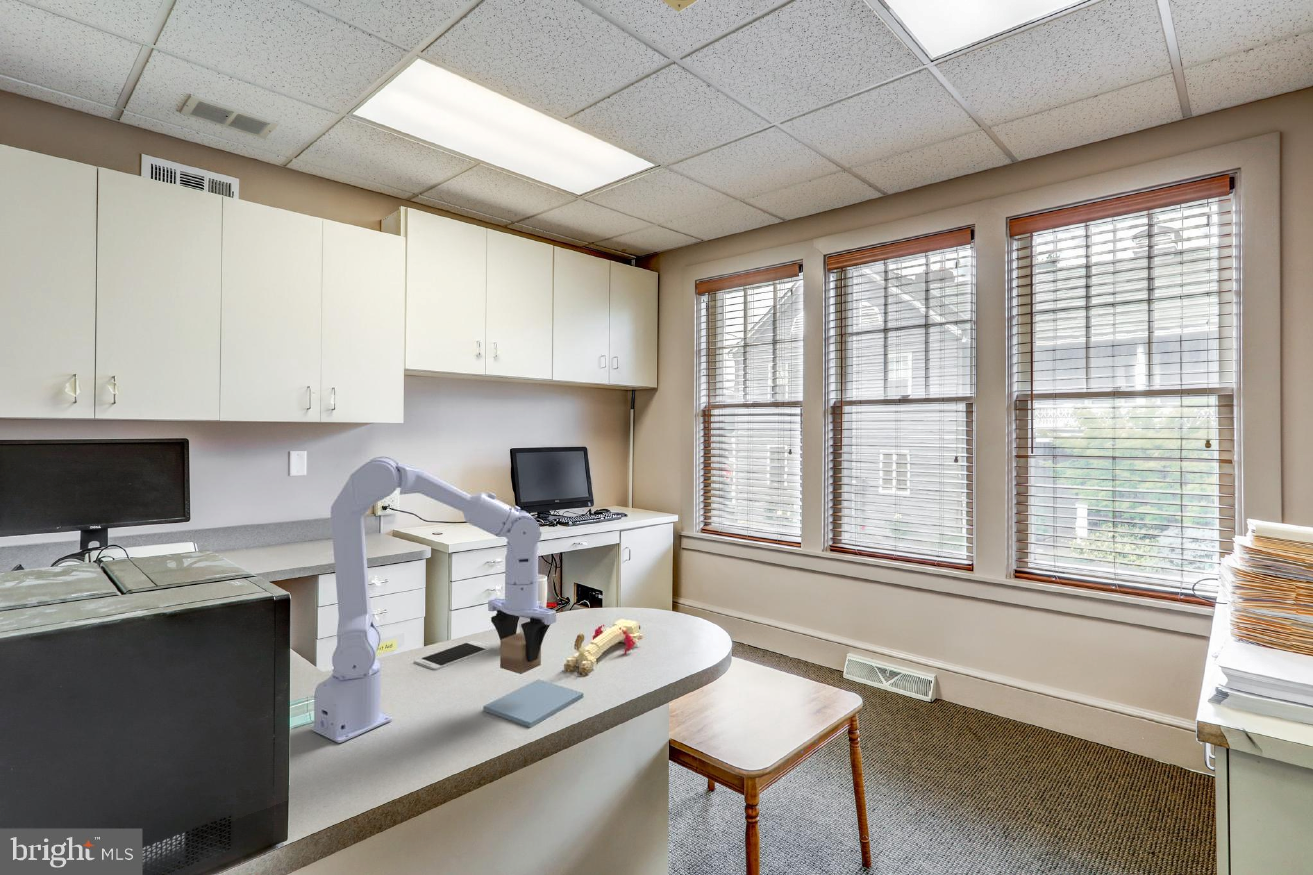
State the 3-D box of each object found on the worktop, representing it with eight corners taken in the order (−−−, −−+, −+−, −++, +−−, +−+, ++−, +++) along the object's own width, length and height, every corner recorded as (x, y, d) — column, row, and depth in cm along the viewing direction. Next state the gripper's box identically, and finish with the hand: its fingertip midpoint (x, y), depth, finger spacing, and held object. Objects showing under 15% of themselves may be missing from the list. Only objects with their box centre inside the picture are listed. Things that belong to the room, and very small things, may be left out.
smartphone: (494, 650, 141) (494, 646, 141) (435, 672, 128) (435, 667, 128) (472, 643, 145) (472, 639, 145) (413, 664, 132) (413, 660, 132)
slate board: (530, 727, 105) (530, 722, 105) (483, 710, 111) (483, 706, 111) (583, 697, 117) (583, 692, 117) (538, 683, 123) (538, 679, 123)
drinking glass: (513, 639, 147) (514, 575, 146) (542, 636, 150) (543, 572, 149) (520, 649, 141) (520, 582, 140) (550, 645, 143) (551, 579, 143)
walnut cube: (520, 674, 110) (521, 645, 110) (500, 667, 113) (500, 639, 113) (540, 665, 114) (541, 637, 114) (520, 659, 117) (520, 632, 117)
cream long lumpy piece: (597, 684, 126) (653, 637, 149) (596, 642, 126) (652, 601, 148) (555, 675, 131) (616, 630, 153) (554, 634, 130) (615, 595, 152)
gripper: (567, 582, 113) (566, 658, 113) (508, 571, 120) (507, 642, 121) (540, 591, 107) (539, 671, 107) (479, 578, 114) (478, 653, 115)
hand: (520, 656), depth 113 cm, fingers closed on walnut cube, 5 cm apart
